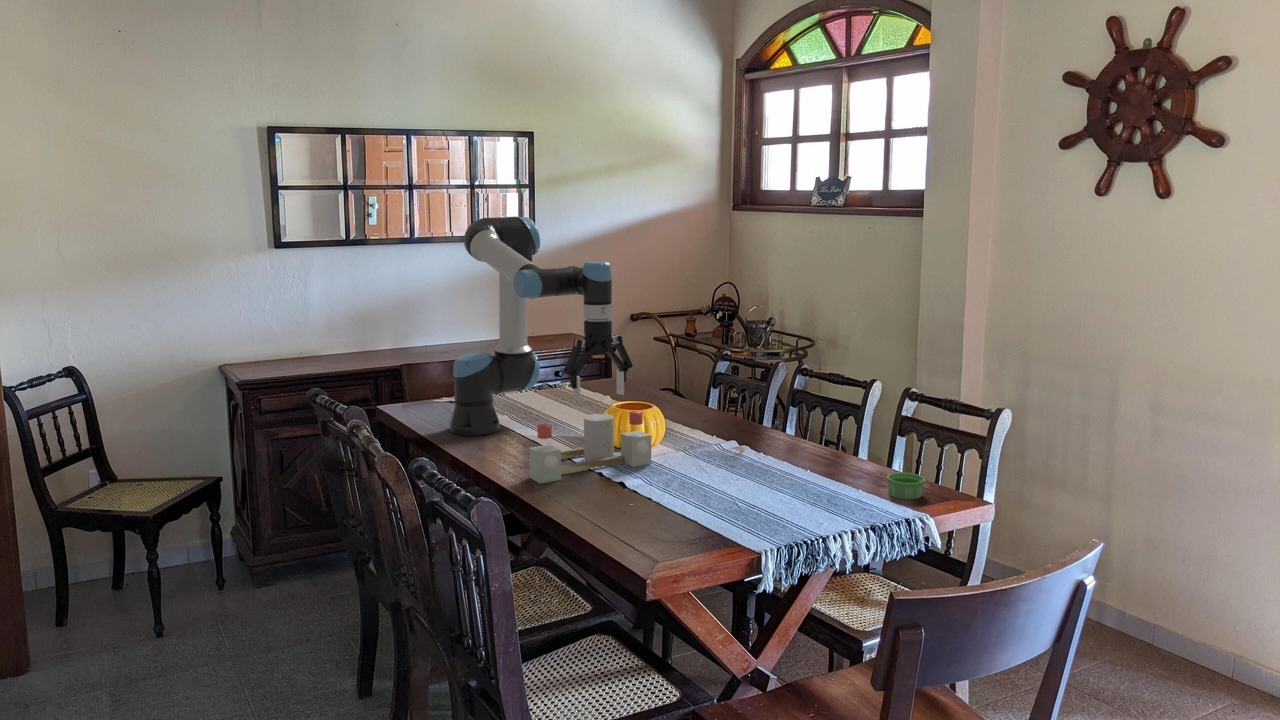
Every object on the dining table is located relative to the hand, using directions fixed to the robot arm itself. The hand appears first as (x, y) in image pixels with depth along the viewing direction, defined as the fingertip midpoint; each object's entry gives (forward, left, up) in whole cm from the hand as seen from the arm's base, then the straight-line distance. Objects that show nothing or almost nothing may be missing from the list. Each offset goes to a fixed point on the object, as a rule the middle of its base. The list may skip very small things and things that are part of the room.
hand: (598, 397), depth 273 cm
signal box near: (+8, -21, -18) cm, 28 cm away
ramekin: (+66, +48, -18) cm, 84 cm away
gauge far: (+8, +7, -7) cm, 12 cm away
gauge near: (+8, -20, -7) cm, 23 cm away
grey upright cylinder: (0, 0, -18) cm, 18 cm away
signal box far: (+8, +7, -18) cm, 21 cm away
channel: (0, -6, -18) cm, 19 cm away
